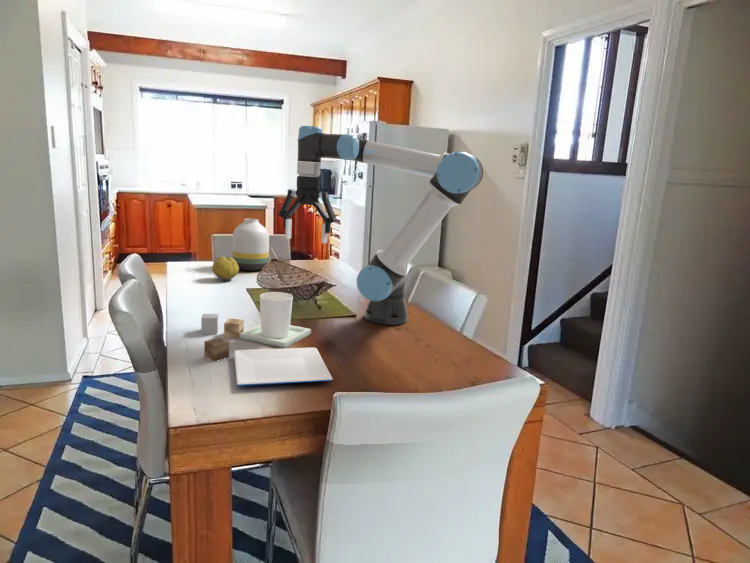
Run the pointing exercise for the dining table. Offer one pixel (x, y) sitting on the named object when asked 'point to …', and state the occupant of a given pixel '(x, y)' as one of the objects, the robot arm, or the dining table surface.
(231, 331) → the oak block
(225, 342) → the walnut block
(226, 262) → the fruit
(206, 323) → the grey block
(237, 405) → the dining table surface
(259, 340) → the tray
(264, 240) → the vase
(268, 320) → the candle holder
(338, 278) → the dining table surface
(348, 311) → the dining table surface
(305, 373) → the plate
